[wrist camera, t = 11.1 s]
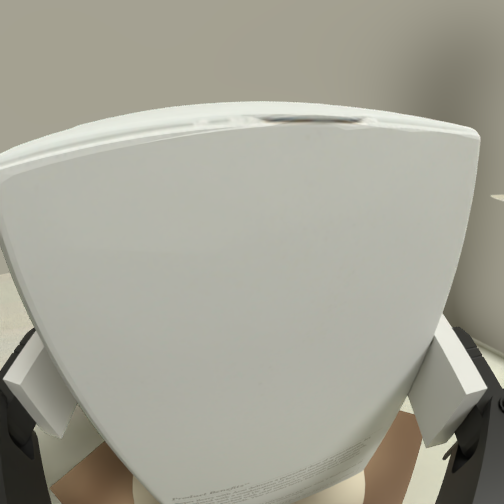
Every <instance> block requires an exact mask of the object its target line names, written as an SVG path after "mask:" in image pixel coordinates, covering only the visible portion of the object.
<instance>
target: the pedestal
mask: <svg viewBox="0 0 504 504" xmlns="http://www.w3.org/2000/svg"><path fill="white" fill-rule="evenodd" d="M421 441H422V434H421V432H420V429H419V426H418V423H417V420H416V417H415V415H414V414H411V413H407V412H403V411H400V410H399V412H398V414H397V416H396V417H395V419H394V421H393V423H392V424H391V426H390V428H389V430H388V431H387V433H386V435H385V437H384V438H383V440H382V442H381V443H380V445H379V447H378V448H377V450H376V451H375V453H374V454H373V456H372V458H371V459H370V461H369V462H368V464H367V465H366V467H365V468H364V470H363V471H361V472H360V473H358V474H356V475H354V476H352V477H350V478H348V479H346V480H344V481H342V482H340V483H338V484H336V485H334V486H332V487H330V488H327V489H325V490H323V491H321V492H318V493H316V494H314V495H311V496H309V497H306V498H304V499H301V500H299V501H296V502H293V503H291V504H402V502H403V499H404V497H405V494H406V491H407V488H408V485H409V482H410V479H411V476H412V473H413V470H414V466H415V463H416V460H417V456H418V453H419V449H420V445H421ZM50 489H51V491H52V492H53V493H54V494H55V496H56V497H57V498H58V499H59V500H60V502H61V503H62V504H160V503H159V502H158V501H157V500H156V499H155V498H154V497H153V496H152V495H151V494H150V493H149V491H148V490H147V489H146V488H145V487H144V486H143V485H142V484H141V483H140V482H139V481H138V480H137V479H136V477H135V476H134V475H133V474H132V473H131V472H130V471H129V470H128V468H127V467H126V466H125V465H124V464H123V463H122V461H121V460H120V459H119V458H118V457H117V455H116V454H115V453H114V452H113V450H112V449H111V448H110V447H109V446H108V444H107V443H106V442H105V441H104V442H103V443H102V444H101V445H100V446H98V447H97V448H96V449H95V450H94V451H93V452H91V453H90V454H89V455H88V456H87V457H86V458H84V459H83V460H82V461H81V462H80V463H79V464H77V465H76V466H75V467H74V468H73V469H72V470H70V471H69V472H68V473H67V474H66V475H64V476H63V477H62V478H61V479H60V480H58V481H57V482H56V483H55V484H54V485H52V486H51V487H50Z"/></svg>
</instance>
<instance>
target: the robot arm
mask: <svg viewBox="0 0 504 504" xmlns="http://www.w3.org/2000/svg"><path fill="white" fill-rule="evenodd" d="M408 397H409V400H410V403H411V406H412V408H413V411H414V414H415V417H416V420H417V423H418V426H419V429H420V432H421V434H422V438H423V441H424V444H425V447H426V448H429V447H433V446H436V445H440V444H443V443H446V442H447V441H448V440H449V439H450V437H451V436H452V435H453V434H454V433H455V435H456V438H457V441H456V443H455V444H454V445H453V446H452V447H451V448H450V449H449V450H448V451H447V452H446V453H445V455H444V457H443V460H446V459H447V458H448V456H449V455H450V454H451V456H450V460H449V463H448V467H447V470H446V473H445V476H444V480H443V483H442V486H441V489H440V492H439V495H438V497H437V500H436V503H435V504H504V389H502V387H501V386H500V384H499V382H498V380H497V379H496V377H495V375H494V374H493V372H492V370H491V368H490V367H489V365H488V364H487V362H486V360H485V359H484V357H482V354H481V352H480V351H479V349H478V348H477V346H476V344H475V343H474V341H473V340H472V338H471V337H470V335H469V334H467V333H466V332H465V331H464V330H463V329H461V328H460V327H453V328H452V327H451V326H450V324H449V323H448V321H447V320H446V318H445V317H444V315H443V314H442V315H441V318H440V320H439V323H438V326H437V329H436V331H435V334H434V336H433V339H432V341H431V344H430V346H429V349H428V351H427V353H426V356H425V358H424V360H423V362H422V365H421V367H420V369H419V372H418V374H417V376H416V378H415V380H414V382H413V384H412V386H411V389H410V391H409V393H408ZM76 405H77V401H76V400H75V398H74V397H73V395H72V394H71V392H70V390H69V389H68V387H67V386H66V384H65V382H64V381H63V379H62V377H61V376H60V374H59V372H58V371H57V369H56V367H55V365H54V363H53V362H52V360H51V358H50V356H49V354H48V353H47V351H46V349H45V347H44V345H43V343H42V341H41V339H40V337H39V335H38V334H37V332H36V330H35V328H33V329H31V330H30V331H29V332H28V333H27V334H26V335H25V336H24V338H23V339H22V340H21V342H20V345H18V346H17V347H16V349H15V350H14V353H12V354H11V356H10V357H9V359H8V360H7V362H6V363H5V365H4V366H3V368H2V369H1V371H0V504H51V500H50V496H49V492H48V488H47V484H46V480H45V475H44V471H43V466H42V461H41V455H40V449H39V443H38V438H37V435H36V433H35V431H34V430H33V429H34V427H35V425H36V424H37V425H38V426H39V427H40V428H41V430H42V431H43V432H44V433H46V434H49V435H52V436H55V437H58V438H61V439H62V437H63V435H64V432H65V430H66V428H67V425H68V423H69V421H70V418H71V416H72V414H73V412H74V409H75V407H76Z"/></svg>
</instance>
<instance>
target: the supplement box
mask: <svg viewBox="0 0 504 504" xmlns="http://www.w3.org/2000/svg"><path fill="white" fill-rule="evenodd" d="M480 139H481V138H480V136H479V134H478V133H477V131H476V130H474V129H472V128H470V127H465V126H461V125H456V124H452V123H447V122H443V121H438V120H433V119H429V118H423V117H418V116H411V115H405V114H398V113H393V112H386V111H380V110H372V109H364V108H356V107H345V106H336V105H326V104H314V103H297V102H296V103H295V102H264V101H263V102H262V101H261V102H260V101H258V102H225V103H210V104H197V105H185V106H176V107H169V108H161V109H155V110H148V111H143V112H137V113H131V114H126V115H121V116H117V117H112V118H107V119H102V120H98V121H94V122H90V123H86V124H82V125H78V126H76V127H74V128H71V129H68V130H64V131H61V132H57V133H54V134H51V135H48V136H45V137H42V138H38V139H36V140H33V141H30V142H27V143H24V144H21V145H19V146H16V147H13V148H11V149H9V150H7V151H5V152H3V153H1V154H0V246H1V249H2V252H3V254H4V257H5V260H6V263H7V265H8V268H9V271H10V273H11V276H12V278H13V281H14V283H15V286H16V288H17V291H18V293H19V295H20V297H21V300H22V302H23V304H24V307H25V309H26V311H27V313H28V315H29V317H30V319H31V321H32V324H33V326H34V328H35V330H36V332H37V334H38V335H39V337H40V339H41V341H42V343H43V345H44V347H45V349H46V351H47V353H48V354H49V356H50V358H51V360H52V362H53V363H54V365H55V367H56V369H57V371H58V372H59V374H60V376H61V377H62V379H63V381H64V382H65V384H66V386H67V387H68V389H69V390H70V392H71V394H72V395H73V397H74V398H75V400H76V401H77V403H78V404H79V406H80V407H81V409H82V410H83V412H84V413H85V415H86V416H87V418H88V419H89V420H90V422H91V423H92V424H93V426H94V427H95V429H96V430H97V431H98V433H99V434H100V435H101V437H102V438H103V439H104V440H105V442H106V443H107V444H108V446H109V447H110V448H111V449H112V450H113V452H114V453H115V454H116V455H117V457H118V458H119V459H120V460H121V461H122V463H123V464H124V465H125V466H126V467H127V468H128V470H129V471H130V472H131V473H132V474H133V475H134V476H135V477H136V479H137V480H138V481H139V482H140V483H141V484H142V485H143V486H144V487H145V488H146V489H147V490H148V491H149V493H150V494H151V495H152V496H153V497H154V498H155V499H156V500H157V501H158V502H159V503H160V504H291V503H293V502H296V501H299V500H301V499H304V498H306V497H309V496H311V495H314V494H316V493H318V492H321V491H323V490H325V489H327V488H330V487H332V486H334V485H336V484H338V483H340V482H342V481H344V480H346V479H348V478H350V477H352V476H354V475H356V474H358V473H360V472H361V471H363V470H364V468H365V467H366V465H367V464H368V462H369V461H370V459H371V458H372V456H373V454H374V453H375V451H376V450H377V448H378V447H379V445H380V443H381V442H382V440H383V438H384V437H385V435H386V433H387V431H388V430H389V428H390V426H391V424H392V423H393V421H394V419H395V417H396V416H397V414H398V412H399V410H400V408H401V406H402V404H403V402H404V400H405V398H406V397H407V395H408V393H409V391H410V389H411V386H412V384H413V382H414V380H415V378H416V376H417V374H418V372H419V369H420V367H421V365H422V362H423V360H424V358H425V356H426V353H427V351H428V349H429V346H430V344H431V341H432V339H433V336H434V334H435V331H436V329H437V326H438V323H439V320H440V318H441V315H442V312H443V309H444V306H445V303H446V300H447V297H448V294H449V291H450V288H451V285H452V282H453V278H454V275H455V271H456V268H457V265H458V261H459V257H460V254H461V250H462V246H463V242H464V237H465V233H466V229H467V224H468V219H469V214H470V209H471V204H472V199H473V193H474V187H475V180H476V173H477V165H478V158H479V149H480Z"/></svg>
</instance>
